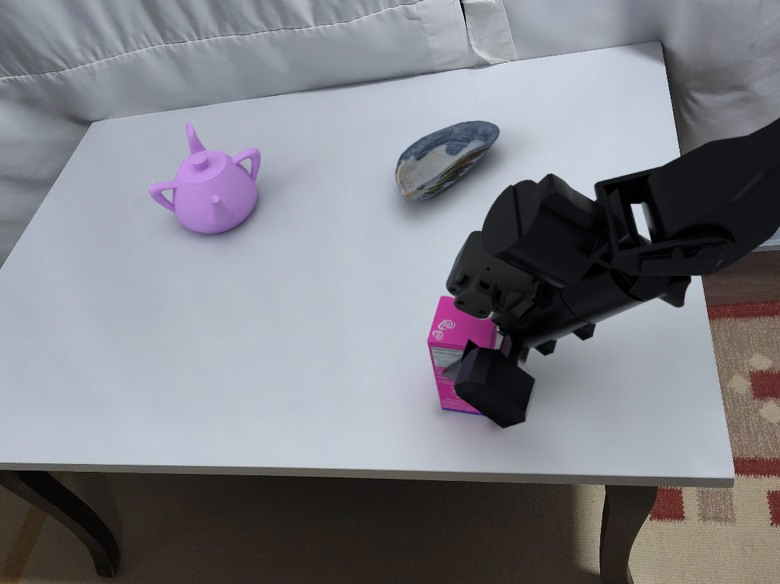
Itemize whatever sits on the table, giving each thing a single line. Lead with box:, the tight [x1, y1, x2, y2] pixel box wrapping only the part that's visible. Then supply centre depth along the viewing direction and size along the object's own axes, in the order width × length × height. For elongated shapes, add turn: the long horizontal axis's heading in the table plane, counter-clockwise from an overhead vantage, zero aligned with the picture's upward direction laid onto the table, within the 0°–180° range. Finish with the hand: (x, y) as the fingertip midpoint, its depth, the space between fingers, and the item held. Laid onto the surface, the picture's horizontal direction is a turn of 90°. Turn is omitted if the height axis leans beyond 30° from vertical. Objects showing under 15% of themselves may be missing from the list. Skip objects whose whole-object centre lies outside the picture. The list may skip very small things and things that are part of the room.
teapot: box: [148, 122, 262, 235], centre depth 99 cm, size 12×14×9 cm
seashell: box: [394, 120, 501, 203], centre depth 94 cm, size 15×12×5 cm
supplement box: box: [426, 294, 503, 417], centre depth 71 cm, size 6×6×12 cm
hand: (455, 349), depth 71 cm, fingers closed on supplement box, 6 cm apart
